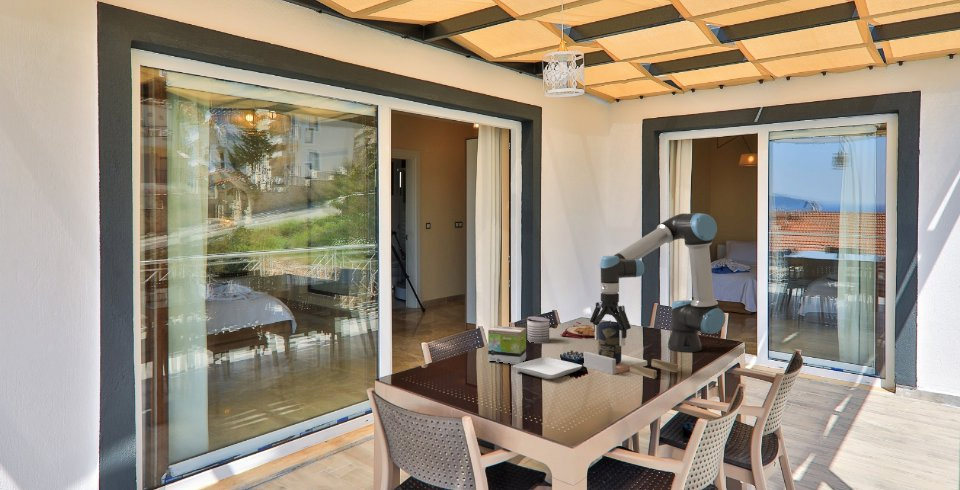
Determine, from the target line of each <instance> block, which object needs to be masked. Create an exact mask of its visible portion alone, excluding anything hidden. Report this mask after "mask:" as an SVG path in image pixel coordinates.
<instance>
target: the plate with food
mask: <svg viewBox="0 0 960 490" xmlns="http://www.w3.org/2000/svg"><path fill="white" fill-rule="evenodd" d="M575 324H577V325H573V326H570V327H567V328H566V329H564V330H565V331H563V332H562V333H561V334H559V336H564V337H566V338H567V337H569V338H578V339H579V338H580V339H581V340H583V339H587V340H588V339H590V340H591V339H592V340H594V339H595V332H594V326H592V325H585V324H584V325H583V324H582V323H581V322H578V321H576V322H575ZM581 324H582V325H581Z"/></svg>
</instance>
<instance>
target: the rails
mask: <svg viewBox="0 0 960 490" xmlns="http://www.w3.org/2000/svg"><path fill="white" fill-rule="evenodd" d="M651 367H653V368H656V369H661V370H664V371H669V372H673V373H678V372H679V364H677V363H673V362H669V361H665V360H660V359H657V358H656V359H655V358H652V359H651ZM656 369H652V368H648V367H646V366H643V367H641V366H637V365H633V364H631V365H630V370H629V373H632V374H635V375H638V376H643V377H646V378H650V379H653V380H656V379H657V376H658V375H657V372H658V371H657V370H656Z"/></svg>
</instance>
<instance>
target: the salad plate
mask: <svg viewBox="0 0 960 490" xmlns="http://www.w3.org/2000/svg"><path fill="white" fill-rule="evenodd" d="M512 367H513V369H514V370H516V371H517V372H520V373H523V374H525V375H529V376H532V377H533V376H534V377H537V378H541V379H545V380H553V379H558V378H560V377H561V378H562V377H564V376H566V375H570V374H572V373H574V372H577V371H579V370H580V369H581V368H582V367H583V364H578V363H576V362H570V361H566V360H561V359H556V358H552V357H547V356H546V357H545V356H543V357H539V358H535V359H531V360H528V361H524V362H522V363H520V364H512Z"/></svg>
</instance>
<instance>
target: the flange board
mask: <svg viewBox="0 0 960 490" xmlns="http://www.w3.org/2000/svg"><path fill="white" fill-rule="evenodd" d="M583 358H584V363H582V367H585V368H588V369H592V370H594V371H595V370H596V371H599V372H602V373H606V374H610V375H616V374H620V373H624V372H628V371H630V365H631V364H633V365H637V366H641V367H646V366H648V360H645V359H642V358H638V357H633V356H629V355H625V354H622V353H621V362H620V363H617V364H616V359H613V358H609V357H606V356H602V355H598V353H594V352H590V351H584V352H583Z"/></svg>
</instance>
